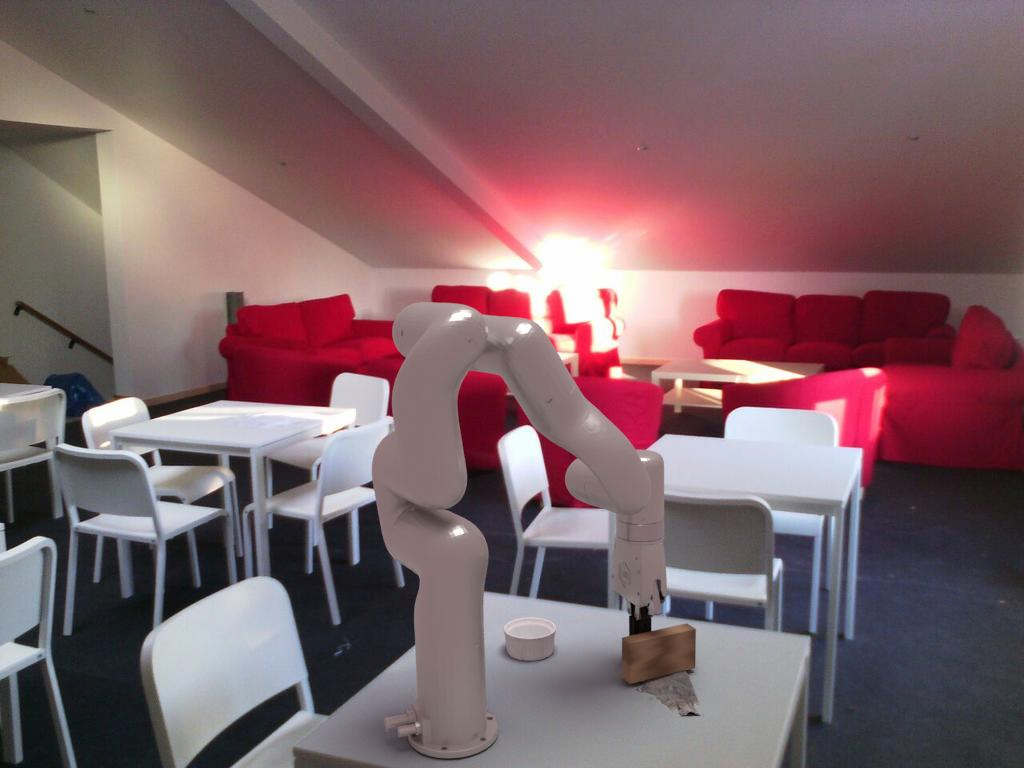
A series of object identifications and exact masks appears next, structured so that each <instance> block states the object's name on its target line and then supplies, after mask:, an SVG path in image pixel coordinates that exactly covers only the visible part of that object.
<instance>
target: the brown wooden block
mask: <svg viewBox="0 0 1024 768" xmlns="http://www.w3.org/2000/svg"><path fill="white" fill-rule="evenodd" d="M696 630H697V628H695V627H694V626H692V625H690V624H689V623H688V622H687V623H681V624H678V625H674V626H667V627H663V628H659V629H655V630H651V631H650V632H645V633H641V634H636V635H632V636H629V635H628V636H623V637H621V658H622V659H621V678H623V680H625V681H626V682H627V683H629V685H631V684H634V683H635V684H636V683H639V682H643V681H644V680H648V679H652V678H656V677H660V676H664V675H668V674H672V673H676V672H681V671H688V670H692V669H696V651H697V649H696V647H697V645H696V643H697V642H696V640H697V637H696V635H697V634H696V632H697V631H696Z"/></svg>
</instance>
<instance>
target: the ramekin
mask: <svg viewBox="0 0 1024 768" xmlns="http://www.w3.org/2000/svg"><path fill="white" fill-rule="evenodd" d="M556 632H557V626H556V624H555V623H553V621H551V620H548V619H545V618H542V617H532V616H531V617H530V616H529V617H528V616H526V617H520V618H515V619H512V620H510V621H508V622H507V623H505V625H504V626H503V633H504V638H505V648H506V651H507V654H508V655H509V657H511V658H513V659H515V660H519V661H523V660H524V661H525V662H533V661H540V660H543V659H546V657H547V658H548V657H550V656H551V655H552V654H553V652H554V648H555V637H556Z"/></svg>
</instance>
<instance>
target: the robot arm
mask: <svg viewBox="0 0 1024 768" xmlns="http://www.w3.org/2000/svg"><path fill="white" fill-rule="evenodd" d="M391 333H392V334H391V336H392V340H393V344H394V347H396V349H397V351H398V352H399V353H400V355H401V356H403V357H404V358H405V359H404V361H403V362H402V364H401V366H400V368H399V370H398V373H397V375H396V377H395V380H394V383H393V388H392V391H391V393H392V394H391V409H392V410H391V411H392V417H393V420H392V421H393V428H394V431H392V432H389V433H388V434H386V436H385V437H383V438H382V439H381V440H380V442H379V443H378V444H377V446H376V448H375V451H374V454H373V457H372V461H371V462H372V463H371V479H372V486H373V491H374V497H375V503H376V507H377V514H378V518H379V524H380V529H381V534H382V538H383V542H384V545H385V548H386V549H387V551H388V552H389V554H390V556H392V558H394V560H395V561H396V562H398V563H399V564H401V565H402V566H404V567H406V568H407V569H409V570H411V571H412V572H413V573H414V574H416V575H418V579H419V588H418V591H417V595H416V599H415V603H414V610H413V611H414V612H413V614H414V615H413V624H414V625H413V626H414V627H413V629H414V646H415V647H414V648H415V670H416V671H415V672H416V693H417V695H416V696H417V700H415V701H412V702H411V709H410V710H406V711H405V714H399V715H397V714H395V715H392V716H386V717H384V718H383V726H384V730H385V733H390V732H394V731H395V732H396V733H397V737H398V738H404V737H407V739H408V742H409V744H410V746H411V747H412V748H413V749H414V750H415V751H417V752H419V753H421V754H422V755H425V756H428V757H431V758H437V759H460V758H465V757H469V756H473V755H475V754H479V753H481V752H483V751H484V750H486V749H488V748H489V747H491V746H492V745H493V744H494V743H495V742H496V740H497V737H499V736H498V735H499V722H498V720H497V718H496V717H495V716H494V715H493V714H492V713H490V712H489V711H488V710H487V689H486V688H487V686H486V654H485V653H486V652H485V626H484V625H485V624H484V623H485V621H484V620H485V619H484V617H485V616H484V612H485V611H484V602H485V601H484V599H485V598H484V596H485V584H486V577H487V573H488V571H487V570H488V566H489V547H488V543H487V541H486V538H485V536H484V534H483V533H482V531H481V530H480V529H479V528H478V527H477V526H476V525H475V523H473V522H471V521H470V520H468V519H466V518H465V517H463V516H460V515H458V514H457V513H454V512H453V511H450V510H447V509H450V508H452V507H453V506H455V505H457V504H458V503H459V502H460V501H461V500H462V498H463V497H464V495H465V493H466V490H467V484H468V471H467V465H466V458H465V453H464V451H465V450H464V446H463V439H462V434H461V433H462V432H461V428H460V426H461V425H460V422H459V410H458V398H459V397H458V396H459V392H460V389H461V385H462V383H463V381H464V380H465V378H466V376H467V375H468V372H469V371H472V372H480V373H487V374H491V375H497V376H500V377H501V378H502V380H503V381H504V383H505V384H506V387H508V389H509V390H510V391H509V392H511V394H512V395H513V397H514V399H515V400H516V401H517V403H518V404H519V407H521V409H522V411H523V412H524V414H525V415H526V417H527V419H528V420H529V422H530V424H531V425H532V427H533V428H534V429H536V431H537V432H538V433H540V434H541V435H543V437H545V438H546V439H548V440H549V441H550V442H552V443H554V444H555V445H557V446H558V447H560V448H562V449H563V450H565V451H567V452H569V453H570V454H572V455H573V456H574V457H576V459H574V460H573V461H572V462H571V463H570V465H568V467H567V468H566V469H567V470H566V472H565V476H564V483H565V486H566V489H567V490H568V492H569V494H570V495H571V496H572V497H573V498H575V499H576V500H578V501H580V502H582V503H585V504H587V505H590V506H592V507H596V508H600V509H603V510H606V511H609V512H611V513H614V514H615V536H614V542H613V548H612V559H611V560H612V561H611V587H612V589H613V591H615V592H616V593H617V594H618V595H620V596H621V597H623V598H624V599H625V600H626V609H627V614H628V636H632V635H636V634H641V633H645V632H650V631H652V618H653V617H654V616H657V615H661V614H662V609H661V607H662V606H661V604H664V603H665V602H666V600H667V588H668V586H667V583H668V582H667V565H666V564H667V563H666V562H667V561H666V553H665V546H664V542H663V541H664V540H665V460H664V458H663V456H662V455H661V454H660V453H659V452H657V451H654V450H649V449H636V448H635V447H634V445H633V444H632V443H631V441H630V440H629V439H628V437H627V436H626V435H625V434H624V433H623V432H622V431H621V430H620V429H619V428H618V427H617V426H616V425H615V424H614V423H613V422H612V421H611V420H610V419H609V418H607V417H606V416H605V415H604V414H603V413H602V412H601V410H600V409H598V408H597V407H596V406H595V405H594V404H592V403H591V402H590V401H589V400H588V399H587V398H586V397H585V396H584V394H583V392H582V391H581V390H580V388H579V386H578V385H577V383H576V381H575V379H574V378H573V377H572V374H571V373H570V371H569V370H568V368H567V366H566V364H565V363H564V361H563V360H562V358H561V356H560V354H559V353H558V350H557V349H556V348H555V346H554V344H553V343H552V341H551V339H550V338H549V336H548V335H547V333H546V331H545V330H544V329H543V328H542V327H541V325H539V323H537V322H535V321H534V320H531V319H529V318H525V317H524V318H523V317H515V316H503V315H502V316H499V315H489V314H482V313H481V312H480V311H478V310H477V309H476V308H474V307H471V306H469V305H466V304H463V303H462V304H461V303H452V302H431V301H427V302H426V301H420V302H413V303H412V304H411V303H410V304H408V305H407V306H405V307H403V309H401V311H400V312H399V313H398V314H397V316H396V317H395V319H394V321H393V324H392V332H391Z"/></svg>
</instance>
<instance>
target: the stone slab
mask: <svg viewBox="0 0 1024 768" xmlns="http://www.w3.org/2000/svg"><path fill="white" fill-rule="evenodd" d="M620 659H621V660H622V657H621V658H620ZM634 691H636V692H637V693H646V694H650V695H653V696H655V697H656V698H655V699H656V700H658V701H660V703H661V704H662V705H665V706H666V707H668V709H669V710H670V711H672V712H675V710H677V711H678V714H679V716H680V717H682V716H687V715H688V714H689V713H693V714H694V715H697V716H699V717H700V716H704V714H699V713H698V712H697V710H696V708H695V706H699V705H700V702H699V699H698V697H697V694H696V691H695V689H694V686H693V683H692V681H691V678H690V676H689V674H688V672H687V670H685V671H681V672H676V673H672V674H668V675H664V676H660V677H656V678H652V679H648V680H644V681H642V685H641V688H640V689H639V687H637V688H635V689H634ZM694 704H696V705H694ZM698 704H699V705H698ZM693 706H694V707H693ZM695 710H696V711H695ZM696 712H697V713H696Z"/></svg>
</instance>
